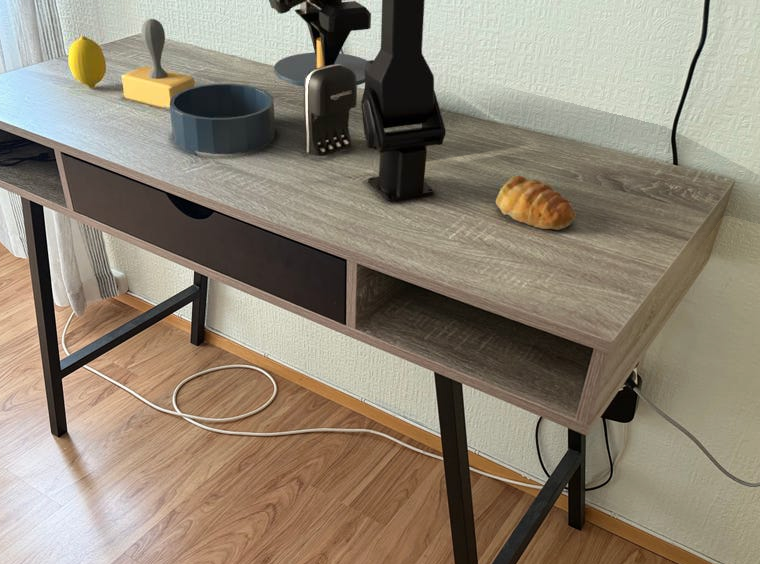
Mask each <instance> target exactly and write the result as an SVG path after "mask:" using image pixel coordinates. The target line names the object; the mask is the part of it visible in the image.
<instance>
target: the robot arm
mask: <svg viewBox="0 0 760 564" xmlns="http://www.w3.org/2000/svg"><path fill="white" fill-rule="evenodd" d="M425 1H426V0H381V24H380V26H381V27H380V29H381V30H380V32H381V33H380V49H379V51H378V53H377V54H376V56H375V58H374V59H372V60H371V59H370V60H367V64H366V66H365V83H364V90H363V93H362V98H361V105H360V107H361V113H362V114H361V115H362V124H363V134H364V138H365V141H366V144H365V145H366V148H368V149H372V150H376V151H377V152H378V153H379V163H378V176H374V177H369V178H368V179H367V183H368V185H370V186H371V187H372V188H373V189H374V190H375V192H377V193H378V194H379V195H380V196H381V197H382V198H383V199H385V200H386V202H389V203H393V202H399V201H404V200H410V199H415V198H422V197H427V196H433V195H434V194H435V190H434V188H433V187H431V186H430V185H429V184H428V183H427V182H426V181H425V177H426V167H427V166H426V165H427V155H428V154H427V152H428V149H427V147H428V146H429V147H430V146H442V145H443V143H444V139H445V137H446V134H447V133H446V132H447V130H446V127H445V122H444V119H443V116H442V112H441V109H440V106H439V102H438V97H437V94H436V91H435V76H434V74H433V71H432V70H431V68H430V66H429V64H428V62H427V60H426V59H425V56H424V54H423V36H424V21H425V20H424V18H425ZM268 2H269V5H270V8H271V9H274V10H275V11H276V13H278V14H286V13H288V12H290V11H291V9H293V8H295V7H296V6H299V8H296V9H294V12H295V13H296V14H297V15H298V16H299V17H300V18H301V20H303V21H304V22H305V23H306V25H307V28H308V31H309V35H310V40H311V43H312V46H313V50H314V53H315V55H316V58H317V39H318V38H321V46H322V54H323V62H324V66H328V65H333V64H334V63H335V61H336V59H337V57H338V55H339V53H341V51H342V49H343V47H344V45H345V43H346V41H347V39H348V37H349V35H350V33H351V32H354V31H365V30H370V29H371V27H372V12H370V10H369V9H368V8H367V7H365V6H364V5H363V4H362V3H360V2H358V1H356V0H352V1H351V0H349V1H343V0H268ZM413 125H415V126H417V125H421V126H419V127H413V128H405V129H398V130H390V131H386V130H385V129H392V128H398V127H399V128H400V127H408V126H413Z"/></svg>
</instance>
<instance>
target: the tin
mask: <svg viewBox="0 0 760 564" xmlns="http://www.w3.org/2000/svg"><path fill="white" fill-rule="evenodd" d="M169 105H170V107H169V112H170V121H171V122H170V123H171V129H172V139H173V142H174V145H176V146H177V147H178V148H179V150H181V151H184V152H186V153H189V154H192V155H195V156H198V153H203V154H212V155H229V154H232V155H233V154H239V153H246V152H250V151H254V150H257V149H260V148H262V147H264V146H266V145H268V144H270V143H271V142H272V141H273V139H274V138H275V136H276V130H275V129H276V128H275V127H276V125H275V101H274V97H273V96H272V95H271V93H269V92H268V91H266V90H265V89H262V88H260V87H256V86H252V85H248V84H239V83H208V84H201V85H195V87H192V88H188V89H185V90H183V91H181V92H178V93H176V94H175V95H174V96H173V97H172V98H171V99H170V104H169Z"/></svg>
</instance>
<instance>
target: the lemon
mask: <svg viewBox="0 0 760 564" xmlns="http://www.w3.org/2000/svg"><path fill="white" fill-rule="evenodd" d="M68 67H69V69H70V71H71V74H72V76H73V77H74V79H75V80H77V81H78V82H79V83H81V84H83V85H86V86H87V87H88V88H89V89H93V88H94V87H95V86H96V84H99V83H100V82H101V81H102V80H103V79H104V77H105V74H106V71H107V64H106V58H105V55H104V52H103V50H102V48H101V46H100V45H99V44H98V43H97V42H96V41H95V40H93V39H90V38H88V37H87V36H85V35H81V36H80V37H79V38H77V39H76V40H75V41H73V42H72V43H71V45H70V47H69V50H68Z"/></svg>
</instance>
